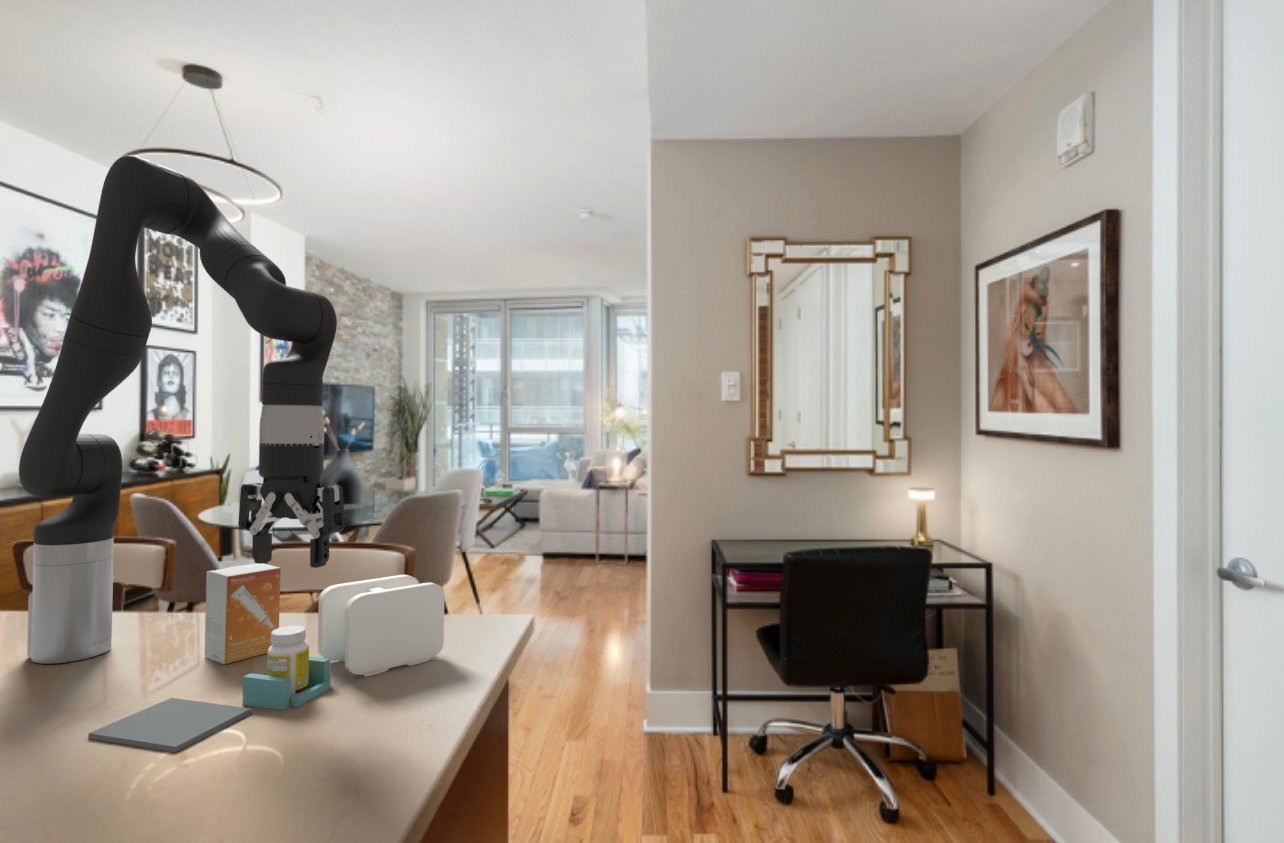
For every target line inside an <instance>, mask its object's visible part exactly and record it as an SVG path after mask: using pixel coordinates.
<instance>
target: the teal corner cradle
mask: <svg viewBox="0 0 1284 843" xmlns="http://www.w3.org/2000/svg"><path fill="white" fill-rule="evenodd" d="M309 687H310V688H308V690H307V691H305V692H303V693H301V694H299V695H297V696H295V697H293V698H292V700H290V693H291V678H285V677H277V676H269V675H268V674H267V675H266V674H260V673H251V672H250V673H248V674H246V675H244V676H242V705H243V706H249V707H257V708H264V709H265V708H266V709H271V710H281V711H285V710H286V709H288V708H290V707H295V708H298V707H300V706H302V705H304V704H306V703H307V702H309V701H311V700H312V699H315V698H316V697H318V696H320V695H321V694H323V693H325V692H328V690H331V661H330V659H328V658H323V657H318V656H310V655H309Z"/></svg>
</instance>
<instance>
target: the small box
mask: <svg viewBox="0 0 1284 843" xmlns="http://www.w3.org/2000/svg"><path fill="white" fill-rule="evenodd" d="M205 588H206V589H205V616H204V617H205V618H204V619H205V621H204V657H205V658H207V659H209V660H212V661H214V662H217V663H219V664H223V665H227V664H231V663H235V662H238V661H241V660H246V659H249V658H253V657H257V656H261V655H265V654H268V649H269V648H270V646H272V645H273V644H271V633H272V631H273V630H275V629H278V628H280V610H281V609H280V604H281V603H280V602H281V601H280V599H281V567H279V566H275V565H272V564H267V563H262V564H258V563H252V564H245V565H237V566H230V567H226V568H219V569H215V570H209V571H206V586H205Z"/></svg>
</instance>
